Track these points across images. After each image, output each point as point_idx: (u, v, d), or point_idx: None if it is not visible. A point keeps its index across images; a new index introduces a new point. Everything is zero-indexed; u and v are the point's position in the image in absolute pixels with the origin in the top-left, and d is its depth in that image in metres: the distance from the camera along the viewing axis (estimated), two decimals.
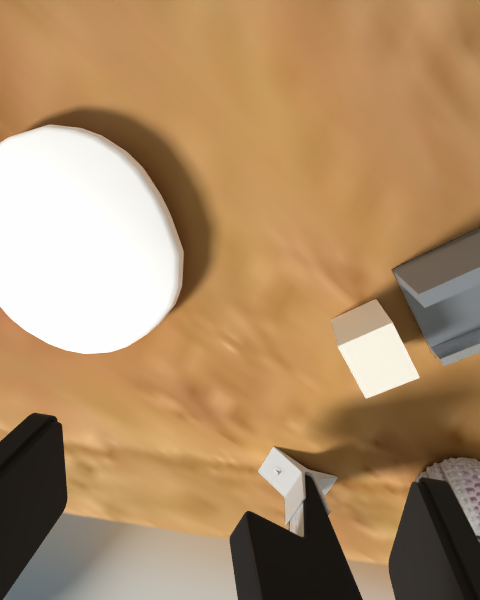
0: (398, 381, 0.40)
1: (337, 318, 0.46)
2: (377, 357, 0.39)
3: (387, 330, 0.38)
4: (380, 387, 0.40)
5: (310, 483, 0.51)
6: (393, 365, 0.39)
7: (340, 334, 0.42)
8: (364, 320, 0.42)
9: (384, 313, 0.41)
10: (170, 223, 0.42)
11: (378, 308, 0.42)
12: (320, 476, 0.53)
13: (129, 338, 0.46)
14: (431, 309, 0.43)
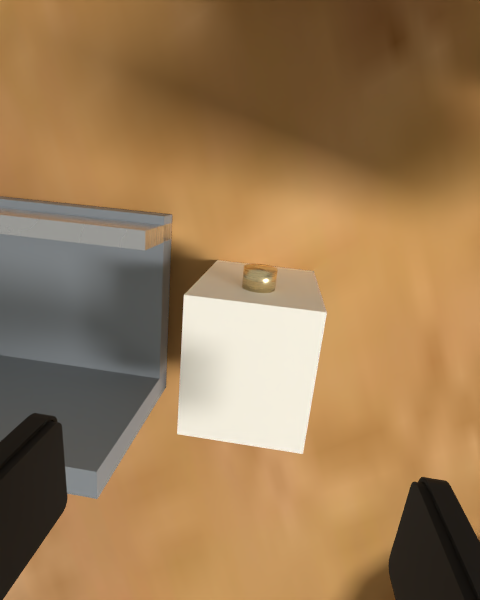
0: (231, 312, 0.16)
1: None
2: (242, 389, 0.17)
3: (193, 426, 0.18)
4: (277, 320, 0.16)
5: None
6: (221, 354, 0.16)
7: None
8: None
9: None
10: None
11: None
12: None
13: None
14: (133, 310, 0.23)
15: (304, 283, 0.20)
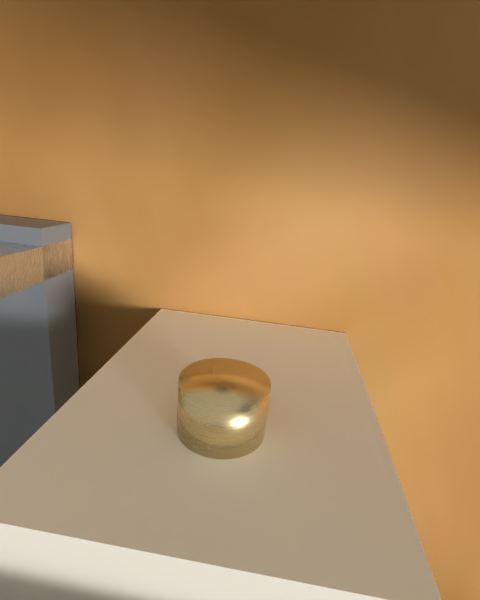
0: (111, 576, 0.05)
1: None
2: None
3: None
4: None
5: None
6: None
7: None
8: None
9: None
10: None
11: None
12: None
13: None
14: (3, 404, 0.12)
15: (335, 388, 0.08)
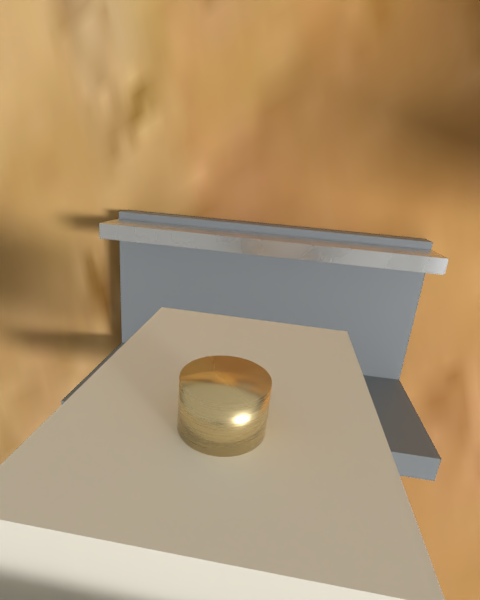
0: (112, 573, 0.05)
1: None
2: None
3: None
4: None
5: None
6: None
7: None
8: None
9: None
10: None
11: None
12: None
13: None
14: (386, 322, 0.27)
15: (336, 386, 0.08)
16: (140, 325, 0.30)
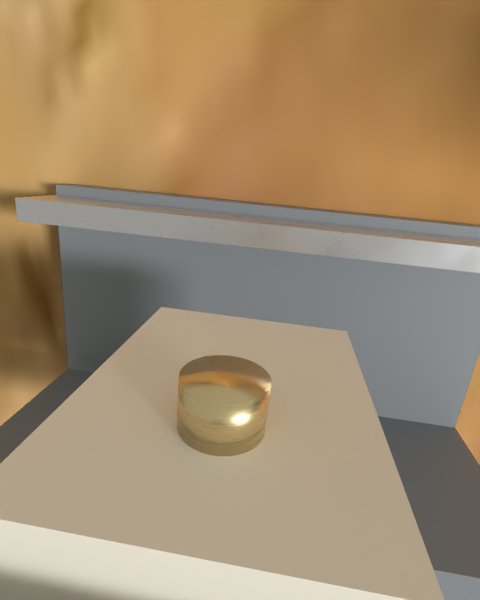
0: (112, 573, 0.05)
1: None
2: None
3: None
4: None
5: None
6: None
7: None
8: None
9: None
10: None
11: None
12: None
13: None
14: (441, 347, 0.19)
15: (336, 386, 0.08)
16: (92, 346, 0.21)
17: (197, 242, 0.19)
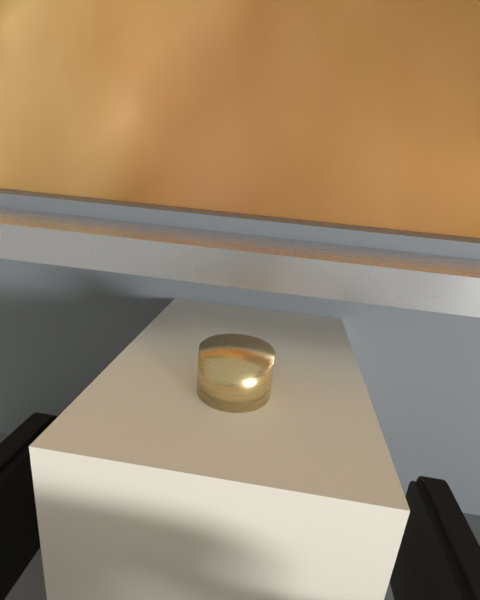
0: (153, 493, 0.06)
1: None
2: None
3: None
4: (273, 520, 0.06)
5: None
6: (136, 577, 0.07)
7: None
8: None
9: None
10: None
11: None
12: None
13: None
14: None
15: (330, 362, 0.10)
16: (24, 404, 0.16)
17: None
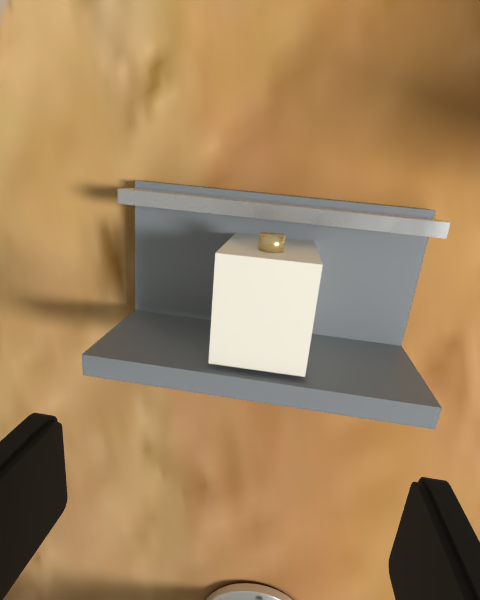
0: (251, 266, 0.21)
1: None
2: (259, 326, 0.22)
3: (221, 357, 0.23)
4: (285, 272, 0.21)
5: None
6: (243, 298, 0.22)
7: None
8: None
9: None
10: None
11: None
12: None
13: None
14: (390, 289, 0.28)
15: (306, 248, 0.25)
16: (153, 293, 0.31)
17: (228, 219, 0.28)
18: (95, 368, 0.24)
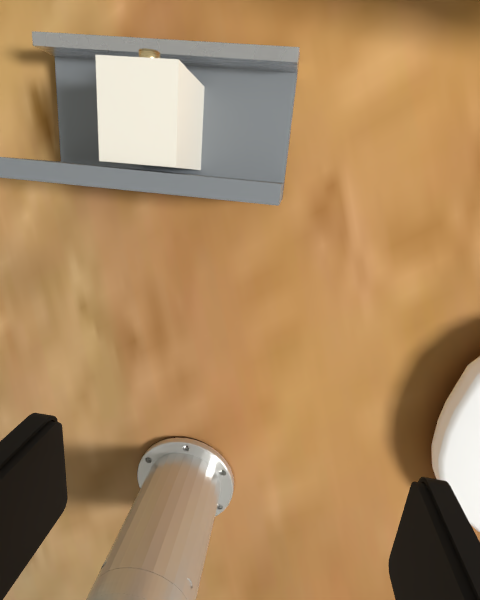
0: (124, 64, 0.26)
1: None
2: (135, 121, 0.27)
3: (108, 154, 0.28)
4: (151, 68, 0.26)
5: None
6: (120, 96, 0.27)
7: None
8: None
9: None
10: (454, 400, 0.37)
11: None
12: None
13: None
14: (269, 128, 0.33)
15: None
16: (75, 144, 0.36)
17: None
18: (8, 169, 0.29)
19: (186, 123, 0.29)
